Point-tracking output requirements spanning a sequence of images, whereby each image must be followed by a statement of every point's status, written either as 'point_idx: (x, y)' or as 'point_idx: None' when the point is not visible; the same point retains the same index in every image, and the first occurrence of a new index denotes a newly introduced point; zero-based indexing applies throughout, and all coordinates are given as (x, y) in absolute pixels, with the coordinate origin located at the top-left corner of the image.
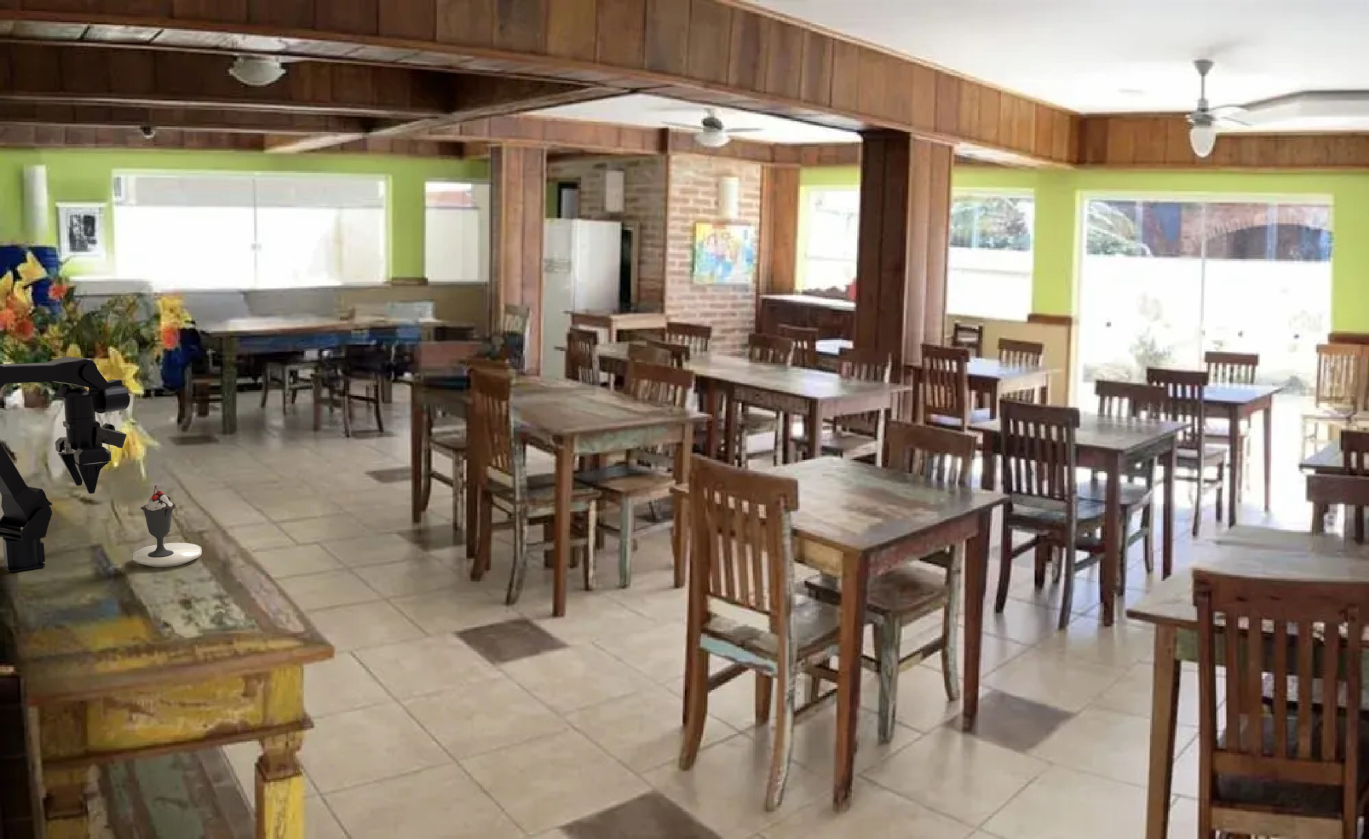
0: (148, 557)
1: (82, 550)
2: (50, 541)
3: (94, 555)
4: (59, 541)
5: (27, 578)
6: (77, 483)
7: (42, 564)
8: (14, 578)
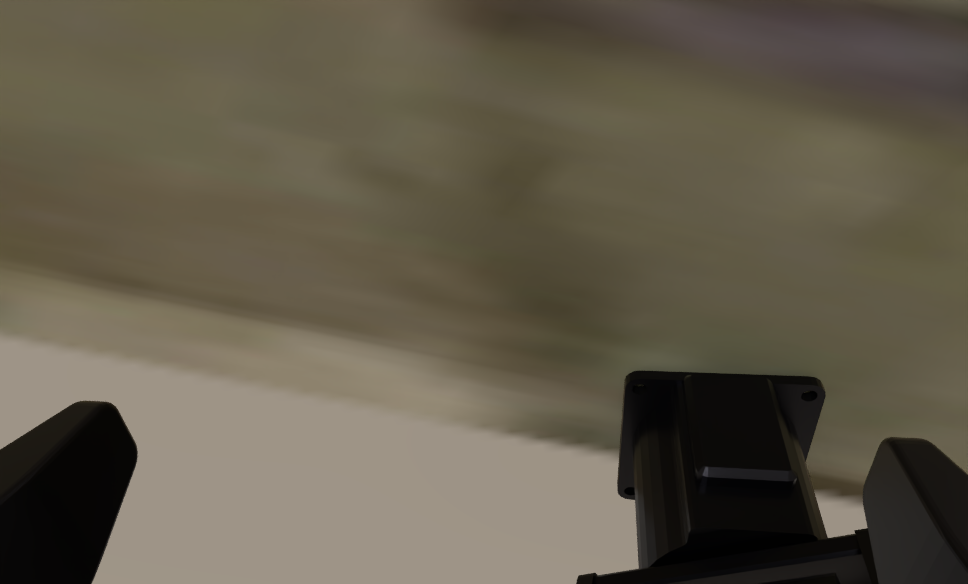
0: None
1: (556, 112)
2: (201, 216)
3: (769, 76)
4: (221, 174)
5: None
6: (117, 475)
7: (802, 391)
8: None
